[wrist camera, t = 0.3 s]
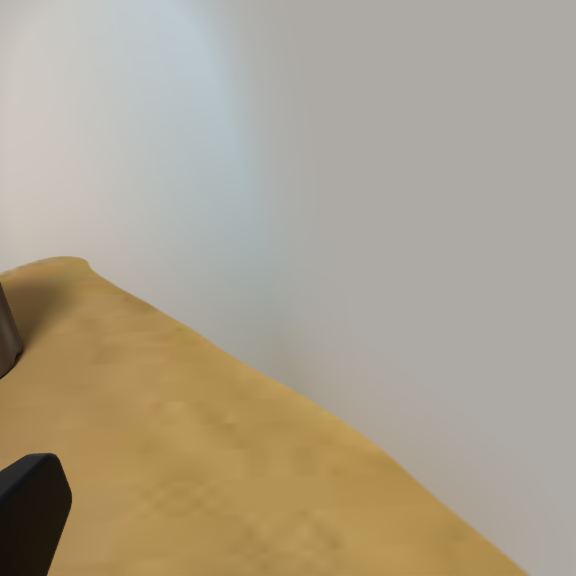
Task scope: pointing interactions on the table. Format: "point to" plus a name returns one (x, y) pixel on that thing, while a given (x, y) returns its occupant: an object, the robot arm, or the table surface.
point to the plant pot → (8, 337)
